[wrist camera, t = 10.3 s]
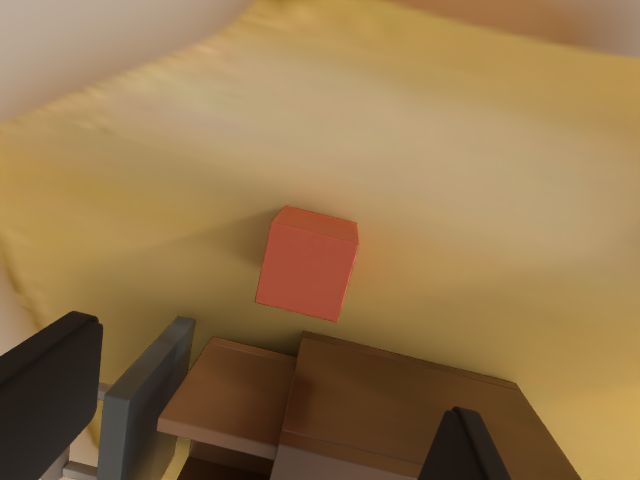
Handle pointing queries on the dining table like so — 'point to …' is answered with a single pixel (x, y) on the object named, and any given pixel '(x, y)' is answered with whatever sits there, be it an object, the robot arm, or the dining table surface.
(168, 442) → the drawer
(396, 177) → the dining table surface
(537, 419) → the cabinet
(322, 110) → the dining table surface
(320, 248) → the block
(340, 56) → the dining table surface
